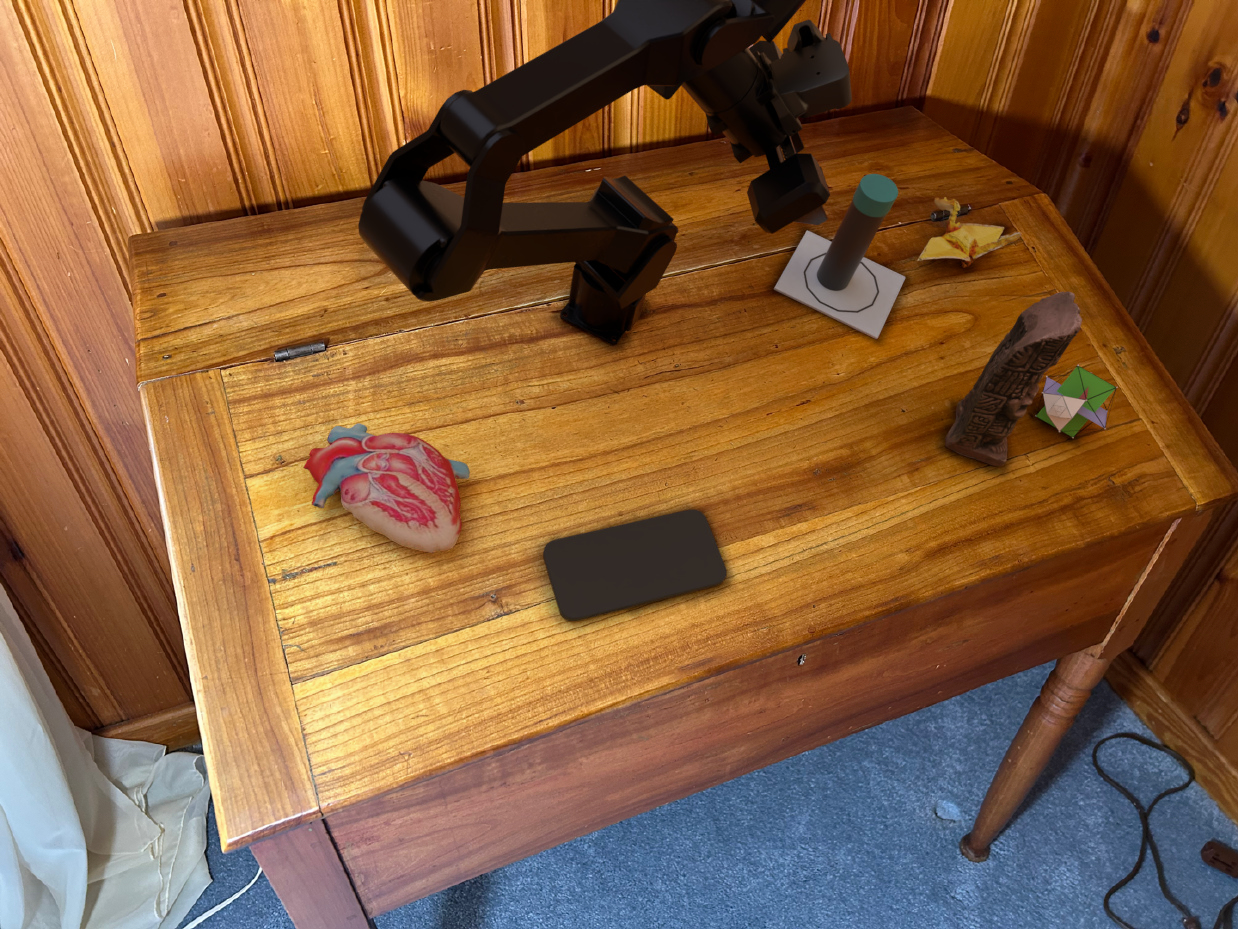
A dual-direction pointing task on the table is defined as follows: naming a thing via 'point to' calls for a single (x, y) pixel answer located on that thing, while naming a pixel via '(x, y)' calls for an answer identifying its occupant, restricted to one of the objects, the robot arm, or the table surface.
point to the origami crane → (964, 238)
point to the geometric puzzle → (1075, 401)
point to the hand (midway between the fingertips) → (810, 184)
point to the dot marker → (857, 230)
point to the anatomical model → (392, 485)
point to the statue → (1013, 378)
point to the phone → (633, 564)
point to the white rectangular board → (853, 305)
